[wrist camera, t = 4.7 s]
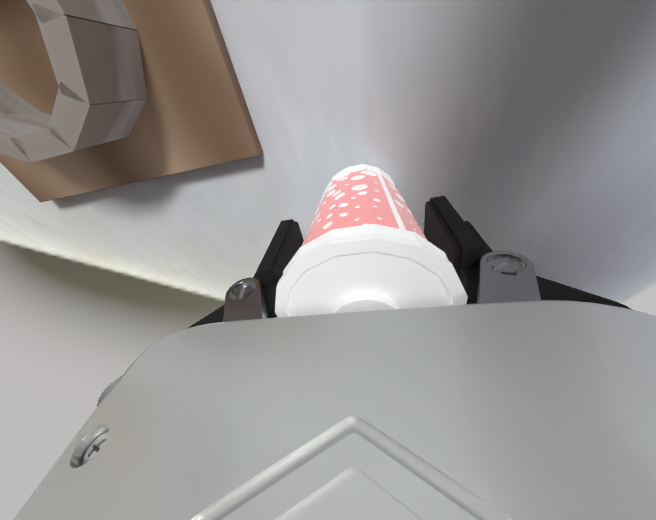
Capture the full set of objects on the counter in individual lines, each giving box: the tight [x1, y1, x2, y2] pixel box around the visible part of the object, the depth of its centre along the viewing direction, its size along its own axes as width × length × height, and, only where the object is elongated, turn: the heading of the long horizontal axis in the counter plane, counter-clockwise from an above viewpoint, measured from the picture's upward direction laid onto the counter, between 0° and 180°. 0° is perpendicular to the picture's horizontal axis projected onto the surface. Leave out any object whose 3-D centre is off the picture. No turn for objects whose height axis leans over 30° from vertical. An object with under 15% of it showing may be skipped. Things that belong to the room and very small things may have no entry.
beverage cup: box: [275, 164, 468, 317], centre depth 9 cm, size 6×6×14 cm
